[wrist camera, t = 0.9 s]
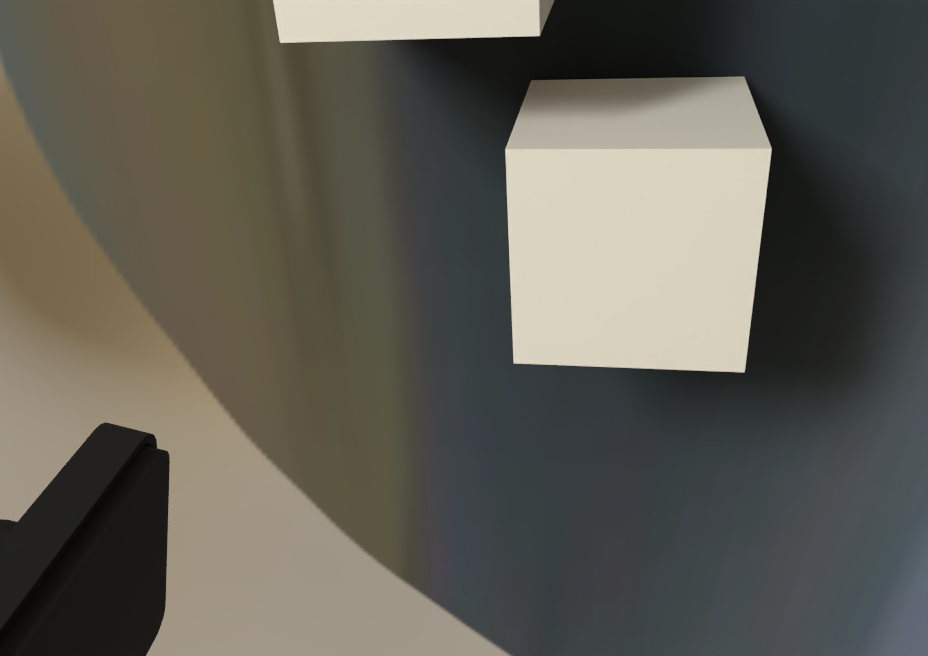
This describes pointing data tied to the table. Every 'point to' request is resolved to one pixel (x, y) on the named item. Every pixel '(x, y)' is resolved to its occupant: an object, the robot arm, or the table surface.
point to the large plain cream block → (407, 19)
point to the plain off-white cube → (635, 222)
